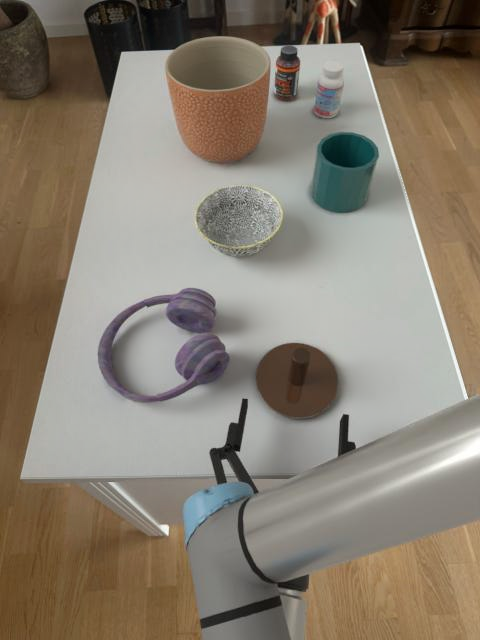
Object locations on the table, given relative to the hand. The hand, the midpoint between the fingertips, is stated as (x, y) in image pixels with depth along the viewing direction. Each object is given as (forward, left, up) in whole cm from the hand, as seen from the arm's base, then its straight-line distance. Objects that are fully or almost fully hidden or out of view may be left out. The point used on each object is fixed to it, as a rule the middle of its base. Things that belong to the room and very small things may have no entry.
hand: (294, 409), depth 60 cm
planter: (+68, -8, -7) cm, 68 cm away
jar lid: (+7, -3, -6) cm, 9 cm away
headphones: (+18, +16, -7) cm, 24 cm away
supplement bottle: (+83, -29, -7) cm, 88 cm away
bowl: (+38, -3, -7) cm, 38 cm away
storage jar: (+45, -27, -6) cm, 53 cm away
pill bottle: (+73, -36, -7) cm, 81 cm away
